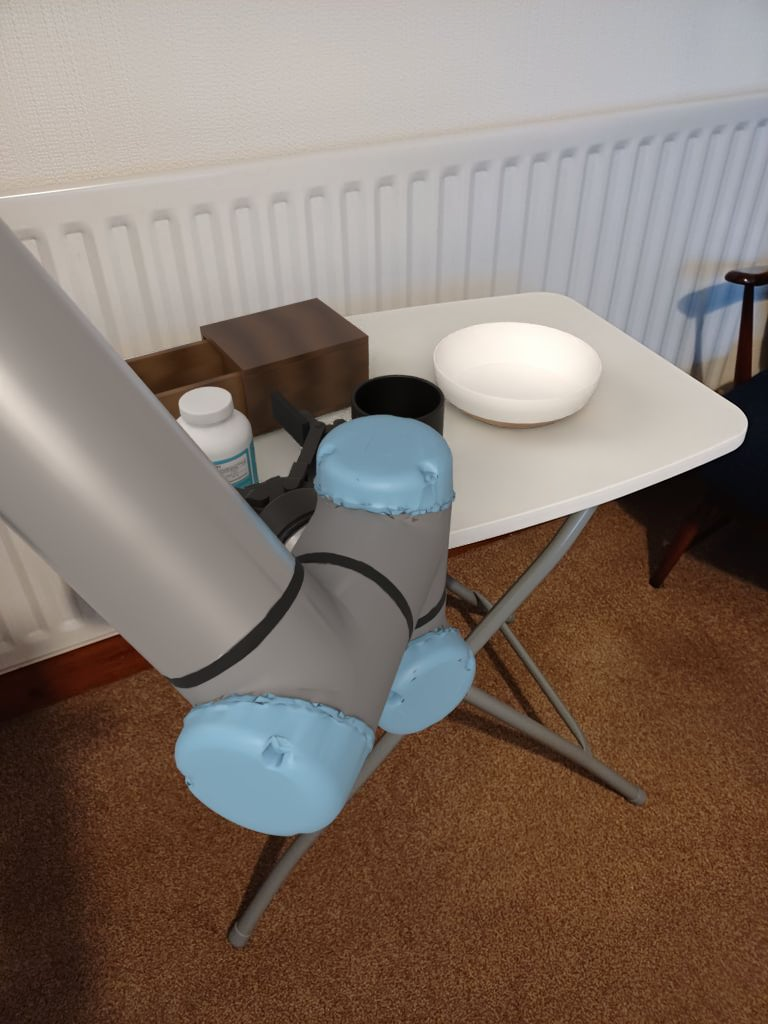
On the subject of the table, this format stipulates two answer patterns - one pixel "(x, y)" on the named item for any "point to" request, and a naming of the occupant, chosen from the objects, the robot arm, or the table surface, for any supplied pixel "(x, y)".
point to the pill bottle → (220, 433)
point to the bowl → (516, 373)
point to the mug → (400, 399)
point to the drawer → (188, 374)
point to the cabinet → (293, 358)
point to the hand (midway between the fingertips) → (207, 423)
